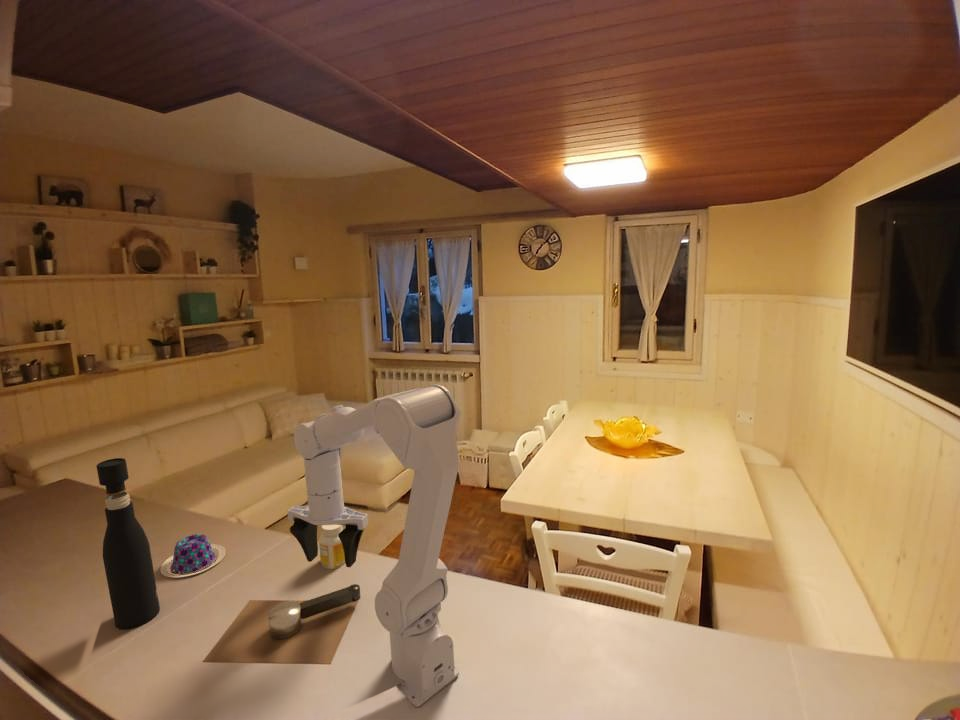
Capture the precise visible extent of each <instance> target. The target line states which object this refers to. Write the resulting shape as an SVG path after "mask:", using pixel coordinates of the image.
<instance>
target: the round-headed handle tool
mask: <svg viewBox="0 0 960 720" xmlns="http://www.w3.org/2000/svg"><path fill="white" fill-rule="evenodd" d="M360 599H361V587H360V585H359V584H357V583H356V584H351V585H349V586H347V587H344V588H341V589H338V590H334V591H332V592H329V593H326V594H323V595H319V596H317V597H313V598H311V599H308V600H304V601H305V602H302V603H300V604H299V603H297V602H294V601H295V600H293V601H287V602H283V603H280V604H278V605H276V606H275V607H273V608H272V609H271V610H270V612H269V614H268V620H269V628H270V635H271V636H272V637H274V638H277V639H283V638H287V637H290V636H292V635H294V634H295V633H297V632H298V631H299V630H300V628H301V627H302V619H305V618H308V617H311V616H314V615H316V614H319V613H322V612H325V611H328V610H331V609H334V608H336V607H339V606H342V605H345V604H348V603H351V602H355V601H358V602H359V600H360Z"/></svg>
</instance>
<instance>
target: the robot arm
mask: <svg viewBox="0 0 960 720" xmlns="http://www.w3.org/2000/svg"><path fill="white" fill-rule="evenodd" d="M461 414H462V411H461V410H460V408H459V405H458V404H457V402H456V400H455V399H454V397H453V394H452V393H451V392H450V391H449V390H448V389H447V388H446V387H445V386H443V385H441V384H436V383H435V384H431V385H429V386H427V387H425V388H424V387H420V388H414V389H410V390H406V391H405V390H404V391H401V392H397V393H396V392H395V393H391V394H388V395H385V396H381V397H377V398H375V399H373V400H371V401H369V402H368V403H366V404H364V405H362V406H360V407H358V408H357V409H356V408H354V407H350V406H343V404H340V405H335V406H333V407H331V408H330V413H325V412H324V413H321V414H319V415H317V416H316V419H315V420H312V421H309V422H305V423H301V422H300V423H299V424H298V426H296V427H295V430H294V433H293V440H294V445H295V448H296V451H297V452H298V454H299V455H300V456H301V457H302V458H303V467H304V474H305V485H306V495H307V496H306V497H307V505H293V506H292V507H290V508H289V509H287V520H288V522H293V525H291V526H290V527H289V532H290V533H291V535H292V536H294V538H295V539H296V540H297V542H298V544H299V545H300V547H301V549H302V551H303V553H304V556H305V558H306V560H307V562H311V563H312V562H313V561H314V559H315V558H317V557H318V554H319V546H318V545H319V542H318V526H322V525H342V526H345V528H343V529H342V531H341V532H340V533H339V534H338V536H339V538H340V540H341V543H342V546H343V549H344V556H345V564H344V565H345V566H346V568H351V567H352V566H353V565H354V564H355V563H356V561H357V555H358V549H359V544H360V542H361V541H360V540H361V539H362V535H363V534H364V533H363V532H364V531H365V528H367V526H368V525H369V514H368V513H366V512H365V513H364V512H360V511H357V510H354V509H353V508H352V509H351V508H350V507H347V506H345V503H344V494H343V493H344V492H343V481H342V480H343V479H342V471H341V459H342V458H343V456H344V455H343V454H344V451H343V448H344V447H346V446H348V445H351V444H354V443H357V442H358V441H360V439H362V438H363V436H364V433H365V430H367V429H369V428H373V430H374V432H375V434H379V435H380V437H381V439H382V440H383V441H384V442H385V444H386V445H387V446H388V448H389V449H390V450H391V452H392V453H393V454H394V456H395V457H396V458H397V460H398V461H399V463H401V465H402V466H403V467H404V468H406V469H409V470H414V473H413V478H412V484H411V489H410V495H409V500H408V504H407V505H408V506H407V512H406V517H405V523H404V529H403V534H402V540H401V545H400V549H399V556H398V561H397V563H396V564H395V566H394V567H393V568H392V569H391V570H390V572H389V573H388V574H387V576H385V578H384V579H383V581H382V585H381V589H380V590H378V592H377V593H376V595H375V598H374V610H375V614H376V617H377V619H378V622H379V623H380V625H381V626H382V627H383V629H385V630H386V631H387V632H389V643H390V645H389V646H390V657H391V660H390V661H391V669H392V673H394V675H395V676H396V677H397V678H398V679H400V680H402V681H403V682H401V683H399V684H397V685H395V687H396V688H397V689H398V690H399V691H400V692H401V693H402V694H403V695H404V697H406V698H407V699H408V700H409V701H410V702H411V703H412V704H413V705H414V707H420V706H422V705H423V704H424V703H426V702H427V701H428V700H429V699H430V698H432V697H433V696H434V695H436V694H437V693H438V692H439V691H441V690H442V689H443V688H444V687H446V685H448V684H449V683H451V682H452V681H453V680H455V678H457V677H458V676H459V675H460V673H459V670H458V669H457V668H456V667H455V656H454V655H455V652H454V641H453V639H452V636H451V635H449V634H448V633H447V632H446V630H445V629H444V627H443V626H442V624H441V622H440V618H439V613H440V612H441V610H442V604H441V603H442V602H444V601H445V600H446V598H447V597H448V593H449V586H448V581H447V573H448V570H449V569H448V567H447V565H446V564H445V563H444V562H443V561H442V560H441V559H440V558H439V557H440V554H441V549H442V545H443V544H442V543H443V539H444V534H445V530H446V526H447V521H448V518H449V517H448V516H449V513H450V508H451V503H452V499H453V494H454V489H455V484H456V480H457V475H458V471H459V464H460V462H459V461H460V460H459V451H458V439H457V432H458V428H459V423H460V418H461Z"/></svg>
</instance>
